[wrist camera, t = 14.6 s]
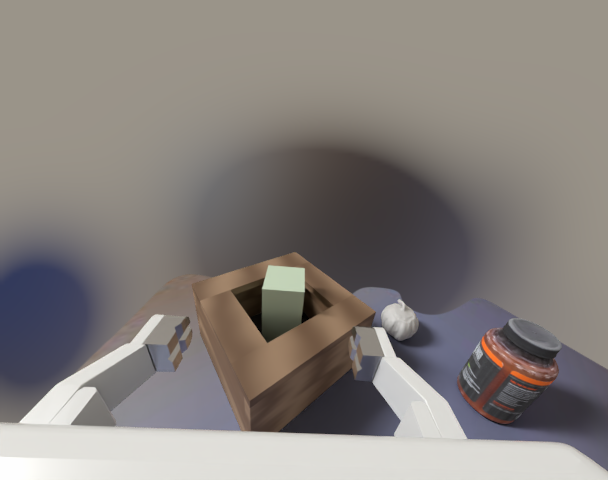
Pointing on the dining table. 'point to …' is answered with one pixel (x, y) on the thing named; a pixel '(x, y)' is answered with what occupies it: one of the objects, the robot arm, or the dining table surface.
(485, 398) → the supplement bottle
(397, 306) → the garlic
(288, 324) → the green peg
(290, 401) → the box
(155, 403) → the dining table surface
